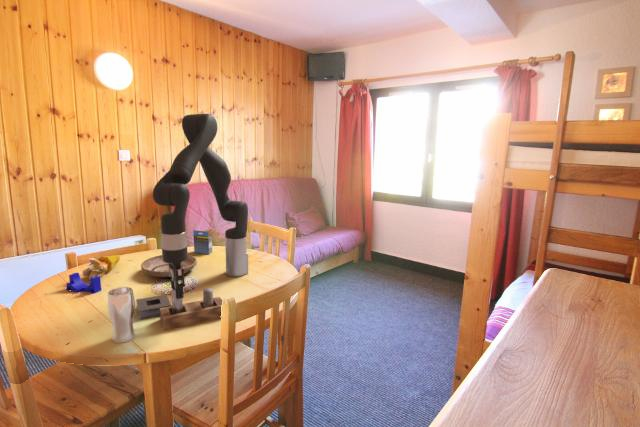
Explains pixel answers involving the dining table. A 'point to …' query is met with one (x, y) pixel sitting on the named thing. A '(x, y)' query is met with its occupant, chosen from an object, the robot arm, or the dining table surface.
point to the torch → (101, 266)
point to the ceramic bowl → (165, 266)
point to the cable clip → (83, 284)
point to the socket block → (151, 306)
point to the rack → (192, 311)
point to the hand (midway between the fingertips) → (177, 293)
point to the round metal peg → (176, 303)
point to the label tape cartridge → (202, 242)
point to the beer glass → (122, 313)
